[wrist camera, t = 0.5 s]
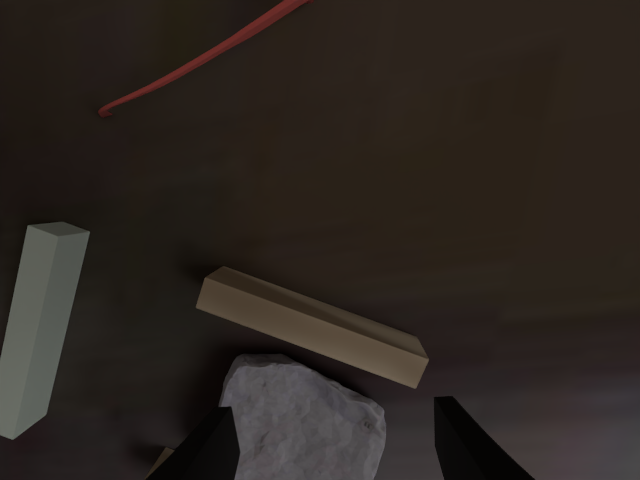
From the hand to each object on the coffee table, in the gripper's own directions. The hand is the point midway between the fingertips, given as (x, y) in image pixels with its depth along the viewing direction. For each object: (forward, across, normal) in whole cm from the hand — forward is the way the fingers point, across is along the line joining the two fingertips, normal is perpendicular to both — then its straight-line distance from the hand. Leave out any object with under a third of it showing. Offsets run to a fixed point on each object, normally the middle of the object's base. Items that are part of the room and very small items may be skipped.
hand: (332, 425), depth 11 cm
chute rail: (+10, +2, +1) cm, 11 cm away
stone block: (+10, +3, +9) cm, 14 cm away
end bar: (+11, +20, 0) cm, 23 cm away
